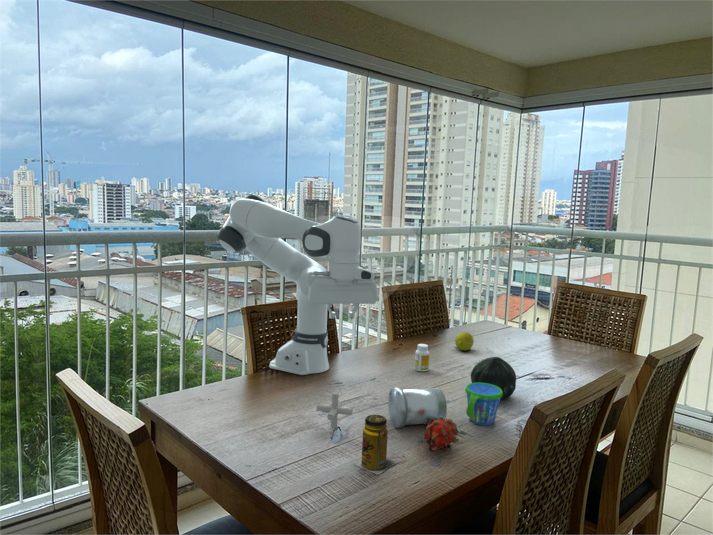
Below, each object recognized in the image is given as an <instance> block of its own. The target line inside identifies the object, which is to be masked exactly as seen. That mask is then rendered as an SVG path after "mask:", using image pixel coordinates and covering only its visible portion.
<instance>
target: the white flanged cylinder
mask: <svg viewBox="0 0 713 535" xmlns="http://www.w3.org/2000/svg"><path fill="white" fill-rule="evenodd" d="M387 400H388V402H387V403H388V404H387V406H388V415H389V420H390V422H391V423H392V425H393V427H394V428H397V429H399V428H404V426H409V425H410V426H411V425H412V426H414V425H428V424H429V423H430V421H431V420H433V419H434V420H439V418H440V417H442V418H443V419H444V420H446V419H447V410H448V408H447V399H446V395H445V393H444V391H443V389H441V388H440V387H433V388H432V387H430V388H405V389H404V388H403V389H402V387H391V388H390V390H389V393H388V399H387Z"/></svg>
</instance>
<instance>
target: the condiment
mask: <svg viewBox="0 0 713 535" xmlns="http://www.w3.org/2000/svg"><path fill="white" fill-rule="evenodd" d="M387 422H388V421H387V419H386V417H385V416H384V415H380V414H369V415H367V416H365V418H364V427H363V429H362V443H361V445H362V447H361V460H359V461H357V462H356V463H354V466H357V467H359V468H361V469H363V470H366V471H367V472H369V473H372V474H374V475H377V476H378V475H380V474H382V473H384V472H385V471H386V470H388V469H389V468H391V467H393V466H394V465H395V464H397V463H398V461H397V460H394V459H392V458H388V457H387V455H388V454H387V453H388V434H389V432H388V426H387Z"/></svg>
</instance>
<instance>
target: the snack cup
mask: <svg viewBox="0 0 713 535" xmlns="http://www.w3.org/2000/svg"><path fill="white" fill-rule="evenodd" d="M464 389H465V393H466V397H467V398H466V399H467V408H466V411H465V412H466V416H467V417H468V420H470V421H471V422H472V423H474V424H475V425H480V426H490V425H493V423H494V422H495V421H496V418H497V413H498V409H499V406H500V401H501V400H500V398H501V397H502V395H503V392H502V390H501V389H500V388H499V387H497V386H495V385H492V384H488V383H472V382H471V383H468V384H467V385H466V386H465V388H464Z"/></svg>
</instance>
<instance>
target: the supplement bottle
mask: <svg viewBox="0 0 713 535" xmlns="http://www.w3.org/2000/svg"><path fill="white" fill-rule="evenodd" d="M414 354H415V355H414V370H415V371H418V372H428V371H429V365H430V351H429V345H428V344H425V343H418V344H417V349H416V350H415V353H414Z"/></svg>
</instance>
